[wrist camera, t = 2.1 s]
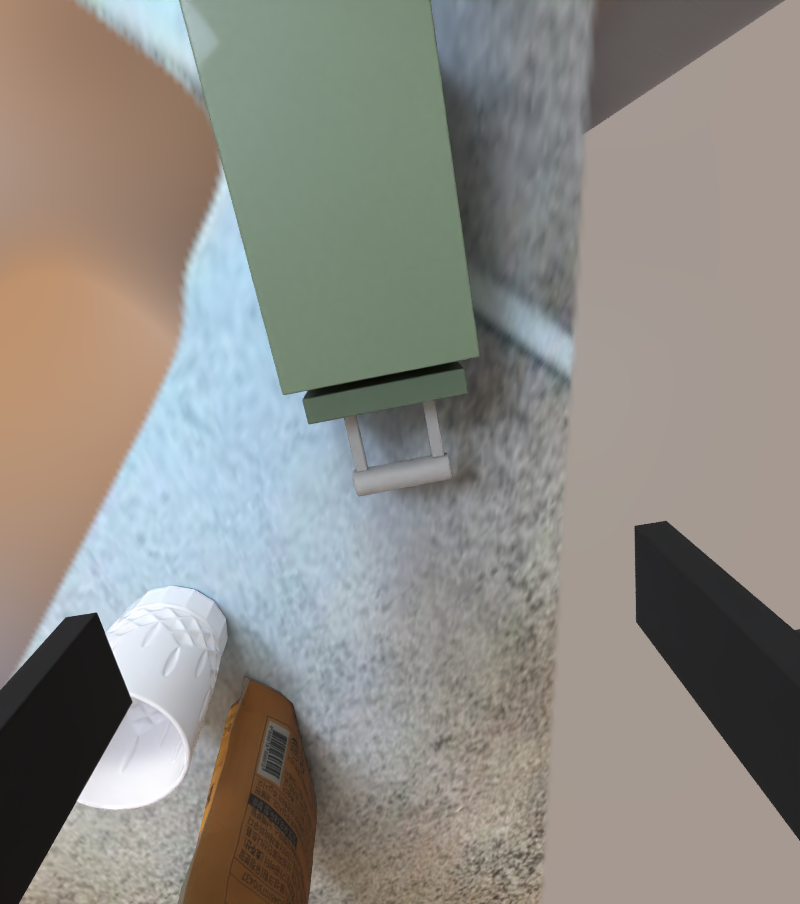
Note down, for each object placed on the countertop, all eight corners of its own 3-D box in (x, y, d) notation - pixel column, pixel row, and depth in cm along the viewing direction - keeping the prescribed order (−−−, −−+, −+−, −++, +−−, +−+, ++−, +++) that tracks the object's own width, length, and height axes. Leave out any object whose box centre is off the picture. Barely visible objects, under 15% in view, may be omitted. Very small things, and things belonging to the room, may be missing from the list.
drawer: (461, 448, 32) (483, 492, 26) (340, 471, 32) (332, 520, 26) (406, 99, 26) (416, 44, 20) (259, 129, 27) (222, 83, 20)
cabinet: (452, 335, 31) (480, 357, 23) (306, 363, 31) (282, 395, 23) (406, 38, 26) (421, -68, 18) (235, 73, 26) (174, -16, 18)
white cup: (215, 565, 35) (157, 673, 25) (252, 662, 37) (210, 793, 28) (99, 590, 35) (-2, 707, 26) (143, 685, 38) (65, 824, 28)
